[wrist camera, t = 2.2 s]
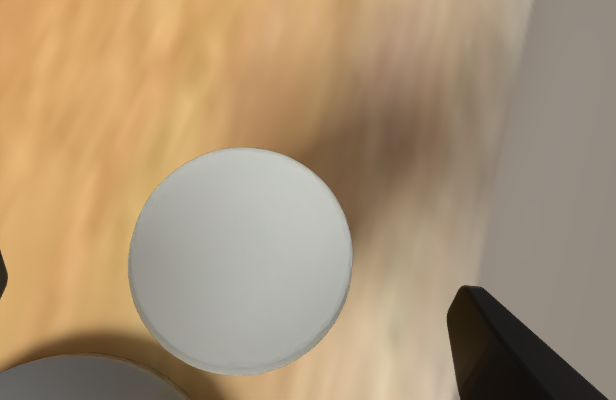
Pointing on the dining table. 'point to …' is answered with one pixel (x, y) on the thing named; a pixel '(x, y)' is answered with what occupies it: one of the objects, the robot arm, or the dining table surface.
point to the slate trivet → (86, 380)
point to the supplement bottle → (240, 261)
